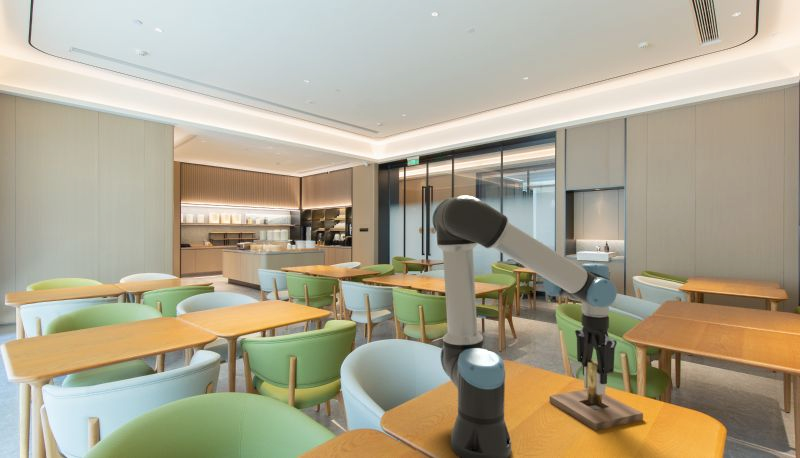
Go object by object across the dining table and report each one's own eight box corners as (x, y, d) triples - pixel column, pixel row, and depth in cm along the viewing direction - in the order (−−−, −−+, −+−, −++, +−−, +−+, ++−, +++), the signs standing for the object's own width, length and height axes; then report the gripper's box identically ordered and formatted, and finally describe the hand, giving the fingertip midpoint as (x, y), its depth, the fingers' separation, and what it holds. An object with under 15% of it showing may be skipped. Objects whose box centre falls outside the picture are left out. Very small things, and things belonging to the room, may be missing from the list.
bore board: (595, 430, 105) (595, 423, 105) (549, 401, 122) (549, 395, 122) (642, 419, 111) (643, 413, 111) (592, 393, 128) (592, 388, 128)
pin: (594, 405, 114) (595, 365, 114) (584, 399, 118) (584, 361, 118) (604, 403, 115) (605, 364, 115) (594, 397, 119) (594, 359, 119)
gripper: (629, 319, 109) (628, 400, 110) (582, 307, 126) (582, 378, 126) (609, 322, 107) (608, 404, 107) (564, 309, 123) (564, 381, 123)
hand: (594, 390), depth 116 cm, fingers closed on pin, 4 cm apart
